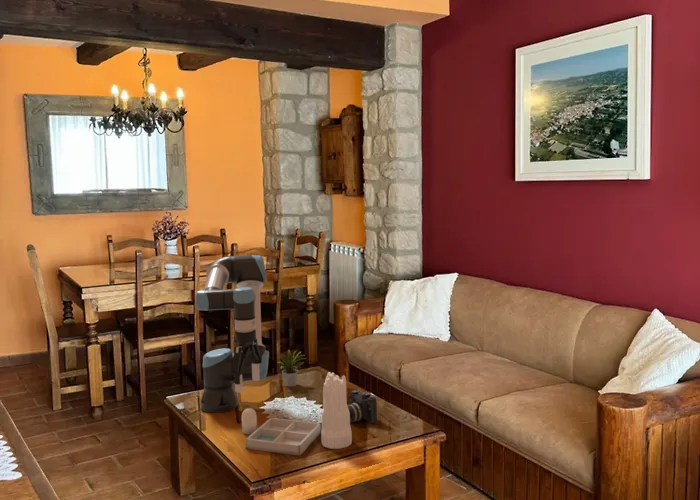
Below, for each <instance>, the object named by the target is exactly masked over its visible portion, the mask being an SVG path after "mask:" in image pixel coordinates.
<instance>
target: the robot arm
mask: <svg viewBox="0 0 700 500" xmlns="http://www.w3.org/2000/svg"><path fill="white" fill-rule="evenodd" d="M265 265H266V264H265V261H264V258H263V256H262V255H258V254H257V255H254V254H250V255H249V254H248V255H229V256H228V255H227V256H223V257H220V258H219V259H218V258H217V260H215V261H213V262H212V263H211V264H210V265H209V266H208V268H207V269H206V274H205V278H206V282H205V285H204V289H201V290H197V291H196V292H195V297H194V298H195V302H194V303H195V308H196V310H198V311H205V312H206V311H207V312H208V311H219V310H220V311H223V310H234V311H233V313H234V330H235V332H234V340H235V342H237V343H238V346H235V347H234V349H233V351H232V349H231V348H226V347H224V348H218V349H214V350H210V351H208V352H207V353H205V354H204V355H203V357H202V372H203V375H202V376H203V392H202V396H201V399H200V409H201V410H202V411H203V412H206V413H211V414H212V413H214V414H215V413H225V412H229V411H232V410H234V409H236V408H237V407H238V406H239V399H238V397H237V394H236V393H241V394H242V393H243V392H244V389H243V388H244V387H243V382H245V381H255V382H259V381H260V380H264V379H266V378H267V375H268V369H269V358H270V352H269V350H266V346H265V345H264V344H263V342H262V315H261V314H262V313H261V309H262V308H261V289H262V288H263V287H264V283H265V282H267V280H268V279H267V272H266V271H267V270H266V266H265ZM226 284H236V286H235V287H236V288H233V289H230V288H229V289H225V286H226Z"/></svg>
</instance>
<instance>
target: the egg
mask: <svg viewBox="0 0 700 500" xmlns="http://www.w3.org/2000/svg"><path fill="white" fill-rule="evenodd" d="M257 429H258V417H257V412H256V410H254V409H253V408H250V407H249V408H245V409H243V412H241V433H242V434H244V435H251V434H252V433H253V432H255V431H256V430H257Z"/></svg>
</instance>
